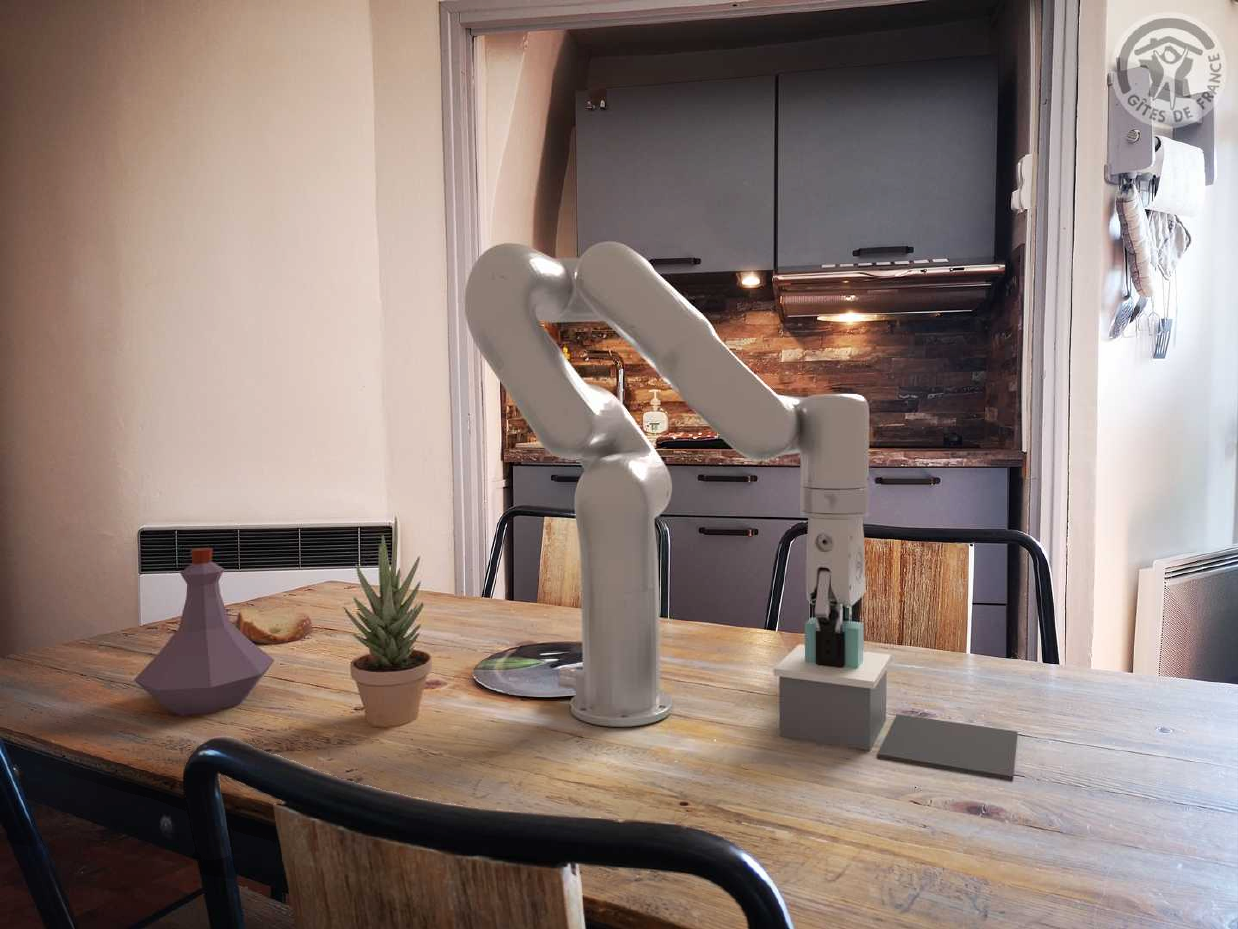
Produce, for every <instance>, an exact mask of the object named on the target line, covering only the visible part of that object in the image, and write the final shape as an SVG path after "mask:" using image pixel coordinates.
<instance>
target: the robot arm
mask: <svg viewBox="0 0 1238 929" xmlns="http://www.w3.org/2000/svg"><path fill="white" fill-rule="evenodd" d="M464 314H465V320H466V323H467V326H468V329H469V332H470V334H471V337H472V340H473V341H474V343H475V345H476V347H477V349H478V350H479V353H481V355H482V357H483V359H484V360H485V361H486V363H487V364H488V366H489V367H490V369H491V370H492V372H493V373H494V374H495V376H496V377H497V379H498V381H499V382H500V383H501V384H502V386H503V388H504V390H505V391H506V393H507V395H508V396H509V398H510V399H511V401H512V402H513V404H514V405H515V407H516V409H518V411H519V413H520V415H522V417H523V418H524V420H525V421H526V423H527V424H528V425H529V428H530V429H531V430H532V432H533V433H534V435H535V437H536V438H537V440H538V441H539V443H540V444H541V446H542V447H543V448H544V449H545V450H546V451H547V452H549V453H550V454H551V455H552V456H554V457H556V458H559V459H564V460H574V459H575V460H577V461H578V462H579V464H580V465H581V467H582V468H583V469H584V472H583V473H582V474H581V475H580V477H579V479H578V482H577V485H576V488H575V491H574V492H575V493H574V515H575V522H576V528H577V530H576V531H577V534H578V535H577V536H578V544H579V555H580V556H579V557H580V558H579V559H580V586H581V588H580V589H581V639H582V640H581V641H582V642H581V643H582V644H581V646H582V649H581V650H582V669H577V668H575V667H574V668H573V667H568V666H562V667H560V669H559V672H558V679H557V686H558V687H560V688H566V689H568V688H569V689H573V690H574V692H575V695H574V696H573V697H572V698H571V700H570V711H571V713H572V714H573V716H574V717H576V718H577V719H578V720H580V721H583V722H584V723H589V724H593V725H597V726H603V727H616V728H617V727H620V728H623V727H624V728H625V727H637V726H643V725H649V724H653V723H656V722H659V721H661V720H663V719H665V718H667V717H668V716H669V715H670V714H671V713H672V711H673V708H674V707H673V699H672V697H671V695H669V694H668V693H667V692H665V691H663V690H661V684H660V683H661V678H660V677H661V676H660V675H661V670H660V668H661V666H660V665H661V664H660V661H661V660H660V658H661V657H660V655H661V654H660V585H659V557H658V555H659V554H658V553H659V552H658V544H657V535H656V527H655V526H656V525H655V519H656V518H657V517H659V516H660V515H661V514H662V513H663V512H664V511H665V509H666V508H667V507H668V505H669V503H670V501H671V497H672V493H673V482H672V477H671V475H670V474H671V473H670V472H669V469H668V467H667V466H666V463H665V462H664V461H663V459H662V458H661V456H660V455H659V453H658V452H657V450H656V449H655V448H654V446H653V445H652V444H651V442H650V440H649V439H648V437H647V436H646V435H645V433H644V432H643V431H642V430H641V428H640V426H639V425H638V424H637V422H636V421H635V419H634V418H633V416H632V415H631V413H630V412H629V411H628V409H627V408H626V407H625V405H624V404H623V403H622V401H621V400H620V399H618V397H616V395H614V394H613V393H612V392H611V391H610V390H607V389H606V388H603V387H601V386H599V385H594V384H588V383H586V382H585V380H583V379H582V377H581V376H580V375H579V373H578V372H577V371H576V370H575V368H574V367H573V365H572V364H571V363H570V362H569V360H568V359H567V358H566V355H565V354H564V352H563V350H562V349H561V348H560V346H559V345H558V343H556V341H555V340H554V338H552V336H551V335H550V334H549V333H548V332H547V331H546V330H545V328H544V327H543V325H542V323H579V322H590V323H591V322H605V323H606V325H608V326H609V327H610V328H611V329H612V330H613V331H614V332H615V333H617V335H618V336H620V337H621V338H622V339H623V340H624V341H625V342H626V343H627V344H628V345H629V346H630V347H631V348H632V349H633V350H634V351H635V352H636V353H637V354H638V355H639V356H640V357H641V358H642V359H643V360H644V361H645V362H646V363H647V364H648V365H649V366H650V367H651V368H652V369H654V371H655V372H656V373H657V374H658V375H659V377H660V378H661V379H662V381H664V382H665V383H666V384H667V385H668V386H669V387H670V388H671V389H672V390H673V391H675V393H676V394H677V395H678V396H679V397H680V398H681V400H683V402H685V404H687V406H688V407H689V408H690V409H691V410H692V411H693V412H694V413H695V414H696V415H697V416H698V417H699V418H700V419H701V420H702V421H703V422H704V423H705V424H707V426H708V427H709V428H711V429H712V430H713V432H715V433H716V434H717V435H718V436H719V437H720V438H721V439H722V440H723V441H724V442H725V443H726V444H727V445H728V446H730V447H731V448H732V449H733V450H734V451H735V452H736V453H738V454H739V455H741V456H742V457H745V458H746V459H749V460H753V461H760V462H761V461H769V460H773V459H775V458H777V457H781V456H787V455H796V454H800V515H801V516H802V517H806V518H808V522H807V534H806V536H807V538H806V557H805V559H806V563H805V564H806V566H805V567H806V568H805V570H806V571H805V587H806V589H805V590H806V592H805V593H806V599H807V601H808V603H810V604H811V606H812V605H814V604H816V607H815V616H816V664H817V665H821V666H829V667H837V668H843V667H844V665H845V632H842V621H851V620H852V608H851V606H852V605H854V604H855V603H856V602H857V601H858V600H859V599H860V598H861V597H862V598H863V596H864V594H865V593H866V590H867V589H866V588H867V587H866V585H867V582H866V581H867V580H866V558H865V553H866V552H865V532H864V525H863V524H864V522H863V518H868V517H869V514H870V513H869V511H870V510H869V508H870V507H869V505H870V504H869V500H870V499H869V496H870V495H869V494H870V492H869V490H870V488H869V485H870V483H869V482H870V475H869V474H870V461H869V460H870V458H869V457H870V451H869V450H870V407H869V403H868V401H867V399H866V398H865V397H864V396H863V395H860V394H855V393H823V394H822V393H821V394H813V395H809V396H806V397H805V396H802V397H800V396H793V395H792V396H789V395H784V394H783V395H781V394H777V393H776V392H774V391H773V389H771V388H770V387H769V386H768V385H767V384H765V383H764V381H762V380H761V379H760V378H759V377H758V376H757V375H756V374H754V372H753V371H751V370H750V368H749V367H747V365H745V364H744V363H743V362H742V360H740V359H739V358H738V357H737V356H736V355H735V354H734V353H733V352H732V351H731V350H730V349H729V348H728V347H727V346H726V345H725V344H724V342H723V341H722V340H721V338H719V336H718V334H717V333H716V330H715V329H714V327H713V325H712V324H711V323H710V321H709V320H708V319H707V318H706V317H705V315H703V313H701V312H700V311H699V310H698V309H697V308H696V307H695V306H693V305H692V304H691V303H690V302H689V301H688V300H687V299H686V298H685V297H684V296H683V295H682V294H680V293H679V292H678V291H677V289H675V288H674V287H673V286H672V285H671V284H670V283H669V282H668V281H666V279H664V278H663V277H662V276H661V275H660V274H659V273H658V271H656V270H655V269H654V267H653V266H652V264H651V263H650V262H649V261H648V260H647V259H646V258H645V257H643V256H642V255H640V254H639V253H638V252H637V251H635V250H633V249H632V248H631V247H629V246H627V245H625V244H624V243H621V242H618V241H612V240H611V241H602V242H598V243H596V244H594V245H592V246H590V247H589V248H588V249H586V250H585V252H583V254H582V255H581V256H580V257H570V258H569V257H568V258H567V257H565V258H553V257H551V256H549V255H547V254H545V253H543V252H541V251H539V250H537V249H535V248H533V247H530V246H528V245H525V244H520V243H512V242H511V243H510V242H506V243H505V242H504V243H500V244H496V245H493V246H491V247H490V248H488V249H486V250H485V251H484V252H483V253H482V254H481V255H480V256H479V257H478V258H477V260H476V261H475V263H474V264H473V266H472V268H471V271H470V272H469V276H468V278H467V281H466V287H465V291H464ZM541 322H542V323H541Z"/></svg>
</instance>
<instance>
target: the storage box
mask: <svg viewBox="0 0 1238 929" xmlns="http://www.w3.org/2000/svg"><path fill="white" fill-rule="evenodd" d="M778 677H779V678H778V679H779V681H778V684H779V688H778V689H779V692H778V693H779V695H778V696H779V698H778V699H779V702H778V703H779V705H778V706H779V713H778V714H779V715H778V716H779V720H778V721H779V723H778V724H779V726H778V727H779V737H784V738H789V739H796V740H801V741H802V740H803V741H808V742H814V743H821V744H825V745H826V744H828V745H832V746H833V745H834V746H840V747H844V748H850V749H851V748H852V749H857V750H864V751H869V752H870V751H871V750H872V748H873V746H874V744H875V742H876V741H877V738H878V737H879V734H880V733H881V731H882V729H883V727H884V725H885V723H886V722H887V670H886V671H885V673H884V674H883V676H882V677H881V679H880V681H879V682H878V684H877V685H876V687H875V689H870V688H863V687H855V686H848V685H840V684H833V683H825V682H818V681H810V680H803V679H795V678H788V677H780V676H778Z"/></svg>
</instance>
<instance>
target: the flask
mask: <svg viewBox="0 0 1238 929" xmlns="http://www.w3.org/2000/svg"><path fill="white" fill-rule="evenodd" d="M213 550H214V549H213V548H212V547H199V548H193V549H190V556H191V561H192V563H191V564H189V565H188V566H187V567H186V568H184V569H183V570H182V571H181V572H179V573H180V575H181V576H182V579H183V580H184V582H185V583H186V596H185V602H184V606H183V609H182V613H181V617H180V620H179V625H178V628H177V630H176V631H175V632H174V634H173V635H172V636H171V637H170V638H169V639H168V641H167V642H166V643H165V645H164V646H163V648H161V650H160V651H159V652H158V653H157V654H156V655H155V657H153V659H152V660H151V661H150V662H149V663H148V664H147V665H146V666H145V667H144V669H143V670H141V672H140V673H139V674H138V675H137V676H136V677H135V678H134V679H133V681H134V683H135V684H137V685H138V686H140V687H141V688H142V689H143V690H144V691H145V692H146V693H147V694H149V695H150V696H151V697H153V698H154V699H155V700H156V701H157V702H158V703H160V704H161V705H162V706H163V707H164V708H166V709H167V711H171V712H172V713H175V714H176V715H177V714H178V715H179V716H184V715H202V714H205V715H206V714H207V715H208V714H213V713H217V712H220V711H224V710H227V709H230V708H233V707H237V706H240V704H242V702H243V701H244V700H245V699H246V698H247V697H248V696H249V694H250V693H251V692H252V691H253V689H254V688H255V687H256V685H257V684H258V683H259V681H261V679H262V678H263V676H264V675H265V674H266V673H267V671H268V670H269V668H270V667H271V666H272V665H273V663H274V662H275V659H274V658H273V657H271V656H270V655H269V654H268V653H267V652H265V651H264V650H263V649H261V648H260V647H259V646H257V644H255V643H254V642H253V641H250V640H249V639H248V638H247V637H246V636H244V635H243V634H242V633H241V632H240V631H239V630H238V628H237V626H235V625H234V624H233V623H232V622H231V620H230V616H229V615H228V612H227V609H226V606H225V603H224V600H223V598H222V595H221V589H220V588H221V587H220V583H219V582H220V579H221V577H222V575H223V573H224V571H225V568H223V567H222V566H220V565H218V564H217V563H215V562H213V561H212V559H213Z"/></svg>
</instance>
